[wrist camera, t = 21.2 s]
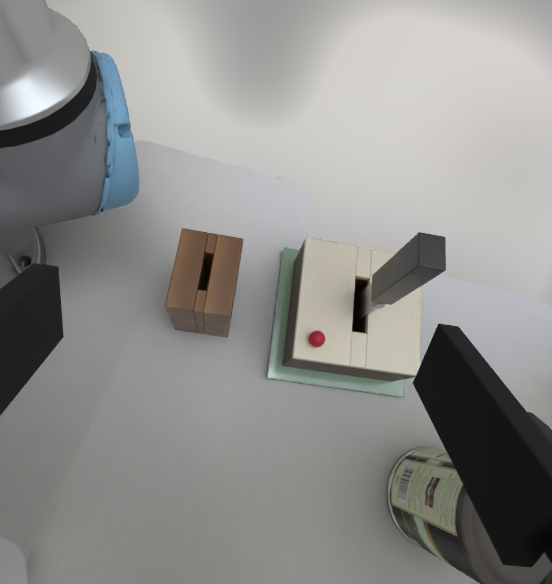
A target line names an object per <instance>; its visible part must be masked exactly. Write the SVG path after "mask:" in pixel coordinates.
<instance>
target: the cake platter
mask: <svg viewBox="0 0 552 584" xmlns="http://www.w3.org/2000/svg"><path fill="white" fill-rule="evenodd" d="M299 251H300V250H295V249H289V248H283V251H282V259H281V267H280V275H279V283H278V291H277V298H276V306H275V314H274V322H273V330H272V338H271V346H270V353H269V361H268V369H267V377H266V378H267V379H273V380H281V381H288V382H295V383H302V384H309V385H316V386H324V387H331V388H338V389H345V390H352V391H359V392H367V393H374V394H381V395H388V396H395V397H404V379H402V380H397V381H393V382H390V381H383V380H376V379H369V378H362V377H355V376H348V375H341V374H334V373H327V372H320V371H313V370H306V369H299V368H292V367H285V366H282V364H283V355H284V346H285V338H286V329H287V321H288V312H289V303H290V295H291V286H292V277H293V269H294V261H295V259H296V257H297V255H298V253H299Z"/></svg>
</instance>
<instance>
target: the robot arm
mask: <svg viewBox="0 0 552 584" xmlns="http://www.w3.org/2000/svg"><path fill="white" fill-rule="evenodd" d="M130 128H131V126H130V121H129V114H128V108H127V104H126V99H125V95H124V91H123V87H122V83H121V79H120V76H119V73H118V70H117V67H116V64H115V62H114V60H113V59H112V57H111V56H110V55H108V54H105V53H99V52H96V51H90V50H89V47H88V45H87V42H86V39H85V38H84V36H83V35H82V33H81V32H80V30H79V29H78V27H77V26H76V25H74V24H73V23H72V22H71V21H70V20H69V19H67V18H66V17H64V16H63V15H61V14H60V13H58V12H56V11H53V10H52V9H50V8H48V7H47V4H46V2H45V0H0V415H1V414H2V413H3V411H4V410H5V409H6V408H7V406H8V405H9V404H10V403H11V401H12V400H13V399H14V398H15V396H16V395H17V394H18V393H19V392H20V390H21V389H22V388H23V387H24V385H25V384H26V383H27V382H28V380H29V379H30V378H31V377H32V375H33V374H34V373H35V372H36V370H37V369H38V368H39V367H40V365H41V364H42V363H43V362H44V360H45V359H46V358H47V357H48V355H49V354H50V353H51V352H52V350H53V349H54V348H55V347H56V345H57V344H58V343H59V342H60V340H61V339H62V338H63V325H62V311H61V297H60V284H59V270H58V267H56V266H49V265H45V249H44V244H43V241H42V238H41V236H40V234H39V232H38V231H37V229H36V228H35V227H36V226H41V225H46V224H51V223H56V222H61V221H66V220H70V219H75V218H80V217H85V216H90V215H99V214H100V213H102V212H103V211H105V210H109V209H113V208H116V207H120V206H123V205H126V204H128V203H130V202H132V201H133V200H134V199H135V197H136V195H137V193H138V190H139V172H138V163H137V156H136V150H135V144H134V139H133V135H132V132H131V130H130ZM413 384H414V386H415V388H416V390H417V392H418V394H419V396H420V398H421V401H422V403H423V405H424V407H425V409H426V411H427V413H428V415H429V417H430V419H431V421H432V423H433V425H434V427H435V429H436V431H437V433H438V435H439V437H440V439H441V441H442V443H443V445H444V447H445V449H446V451H447V453H448V455H449V457H450V459H451V461H452V463H453V465H454V467H455V469H456V471H457V473H458V475H459V477H460V479H461V481H462V483H463V485H464V487H465V489H466V491H467V493H468V495H469V497H470V499H471V502H472V504H473V506H474V508H475V510H476V512H477V514H478V516H479V518H480V520H481V522H482V524H483V526H484V528H485V530H486V532H487V534H488V536H489V538H490V540H491V542H492V544H493V546H494V548H495V550H496V552H497V554H498V556H499V558H500V560H501V562H502V564H503V565H509V566H520V567H533V566H534V564H535V563H536V562H537V561H538V560H539V558H540V557H541V556H542V555H543V554H544V552H545V554H546V556H547V557H548V559H549V561H550V562H551V564H552V430H551V429H550V427H549V426H547V425H546V424H545V423H544V422H542V421H541V420H540V419H539V418H537V417H536V416H535V415H534V414H533V413H530V412H526V411H525V409H524V408H523V407H522V406H521V404H520V403H519V402H518V401H517V399H516V398H515V397H514V395H513V394H512V393H511V392H510V390H509V389H508V388H507V387H506V385H505V384H504V383H503V382H502V380H501V379H500V378H499V377H498V375H497V374H496V373H495V372H494V370H493V369H492V368H491V367H490V365H489V364H488V363H487V362H486V360H485V359H484V358H483V357H482V355H481V354H480V353H479V352H478V350H477V349H476V348H475V347H474V345H473V344H472V343H471V342H470V340H469V339H468V338H467V337H466V335H465V334H464V333H463V332H462V330H461V329H460V328H459V327H457V326H450V325H444V324H438V326H437V328H436V331H435V333H434V335H433V338H432V340H431V342H430V345H429V347H428V349H427V351H426V354H425V356H424V358H423V361H422V363H421V365H420V368H419V370H418V372H417V374H416V377H415V379H414V381H413ZM539 584H552V569H551V570H550V571H549V572H548V574H547V575H546V576H545V577H544V578H543V579H542V580H541V581H540V583H539Z"/></svg>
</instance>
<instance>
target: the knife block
mask: <svg viewBox="0 0 552 584" xmlns="http://www.w3.org/2000/svg"><path fill="white" fill-rule="evenodd" d="M242 245H243V239H241V238H236V237H230V236H224V235H217V234H212V233H207V232H201V231H195V230H189V229H184V228H182V231H181V236H180V241H179V245H178V250H177V254H176V259H175V263H174V268H173V272H172V277H171V282H170V286H169V291H168V295H167V300H166V304H165V307H166V309H167V311H168V314H169V316H170V318H171V320H172V322H173V324H174V327H175V329H176V330H182V331H188V332H195V333H202V334H209V335H215V336H222V337H228V333H229V327H230V321H231V314H232V308H233V302H234V296H235V290H236V284H237V278H238V271H239V265H240V258H241V252H242Z"/></svg>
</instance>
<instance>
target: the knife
mask: <svg viewBox="0 0 552 584" xmlns="http://www.w3.org/2000/svg"><path fill="white" fill-rule="evenodd" d="M445 258H446V256H445V237H442V236H437V235H431V234H425V233H418V234H417V235H416V236H415V237H414V238H413V239H411V240H410V241H409V242H408V243H407V244H406V245H405V246H404V247H403V248H401V249H400V250H399V251H398V252H397V253H396V254H395V255H394V256H393V257H392V258H390V259H389V260H388V261H387V262H386V263H385V264H384V265H383V266H382V267H381V268H379V269H378V270H377V271H376V272H375V273H374V274H373V275H372V283H371V284H369V285H368V286H367V287H366V288H365V289H364V290H362V291H361V292H360V293H359V294H358V295H357V296H356V297H354V306H353V322H352V326H353V325H355V324H356V323H358V322H359V321H361V320H362V319H364V318H365V317H367V316H368V315H370V314H371V313H373V312H374V311H376V310H377V309H381V308H383V307H385V304H389V305H392V304H394V303H395V302H397V301H398V300H400V299H402V298H403V297H405V296H406V295H408V294H409V293H411V292H413V291H414V290H416V289H417V288H419V287H420V286H422V285H423V284H425V283H427V282H428V281H430V280H431V279H433V278H434V277H436V276H438V275H439V274H441V273H442V272H444V271H445V270H446V259H445Z"/></svg>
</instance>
